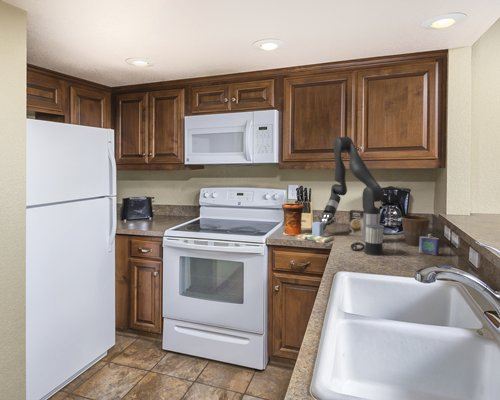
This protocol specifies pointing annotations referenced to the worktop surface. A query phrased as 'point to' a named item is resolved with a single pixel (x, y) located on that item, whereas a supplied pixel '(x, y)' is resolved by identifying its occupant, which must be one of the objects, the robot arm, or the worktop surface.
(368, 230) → the milk frother
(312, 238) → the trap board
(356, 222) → the coffee box
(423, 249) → the flask
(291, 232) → the vessel
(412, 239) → the plant pot
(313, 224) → the slate block
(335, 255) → the worktop surface
